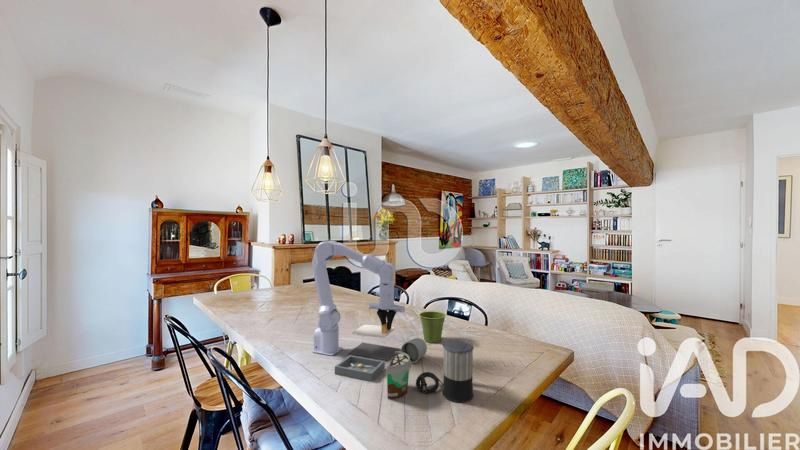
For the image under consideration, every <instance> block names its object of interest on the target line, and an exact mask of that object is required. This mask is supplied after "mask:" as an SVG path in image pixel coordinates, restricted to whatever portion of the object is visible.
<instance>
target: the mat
mask: <svg viewBox="0 0 800 450" xmlns="http://www.w3.org/2000/svg"><path fill="white" fill-rule="evenodd" d="M399 350H401V348H400V347H399V348H398V347H393V346H388V345H387V346H386V345H380V344H374V343H367V342H361V343H360V344H358V345H357V346H356V347H354V348H353V349H351V350H350V351H349V352H348V353H347V355H349V356H350V355H352V356H357V357H363V358H369V359H374V360H380V361H386V362H388V361H390V360H391V358H393V357H394V356H395V351H399Z"/></svg>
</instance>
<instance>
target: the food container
mask: <svg viewBox="0 0 800 450" xmlns="http://www.w3.org/2000/svg"><path fill="white" fill-rule="evenodd" d="M400 351H401V350H400ZM400 351H399V350H398V351H395V354H394V355H393V357H392V359H390V360H391V361H390V363H389V365H387V366H386V380H387V381H386V385H387V387H386V388H387V389H386V390H387V391H386V392H387V400H389V399H390V400H394V399H396V398H397V399H401V398H403V397H404V396H406V395H407V394H408V388H409V375H410V374H409V373H410V369H411V368H412V364H411V360H410V358H409V356H408V355H407V354H406V353H404V352H400ZM400 397H401V398H400ZM397 399H396V400H397Z"/></svg>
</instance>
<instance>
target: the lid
mask: <svg viewBox="0 0 800 450" xmlns="http://www.w3.org/2000/svg"><path fill="white" fill-rule="evenodd" d="M395 330H396V327H394V326H391V329H390V330H387V321H386V323H385V324H384V325H382V324H381V325H376V324H375V325H374V324H365V323H364V324H363V325H361V326H360V327H358V328H356V329H355V330H353V331H352V335H357V336H363V337H365V336H366V337H373V338H380V339H381V338H386V337H387V336H389V335H390V334H391V333H392V332H393V331H395Z"/></svg>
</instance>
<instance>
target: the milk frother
mask: <svg viewBox="0 0 800 450" xmlns="http://www.w3.org/2000/svg"><path fill="white" fill-rule="evenodd" d="M442 347H443V382H442V381H441V379H440V378H439V377H438V376H437V375H436V374H434V373H433V372H430V371H424V372H422V373H420V374H419V375H418V376H417V377H416V381H415V386H416V388H417V390H419V391H420V392H421V393H425V394H432V393H435V392H436V391H437V390H438V388H439V386H440V384H441V385H442V392H441V393H442V396H443V397H444V398H445V399H447V400H449V401H451V402H454V403H467V402H469V401H471V400H473V398H474V392H473V391H474V387H473V378H474V376H473V374H474V373H473V372H474V371H473V367H474V366H473V364H474V363H473V361H474V360H473V358H474V356H473V355H474V354H473V353H474V352H473V351H474V347H475V346H474V345H473V344H472V343H471V342H468V341H466V340H461V339H449V340H446V341H445V342H443V343H442ZM425 378H430V379H432V380H433V381H434V383H435V384H434V385H433V386H432V387H431V388H427V387H428V383H427V382H426V379H425Z"/></svg>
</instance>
